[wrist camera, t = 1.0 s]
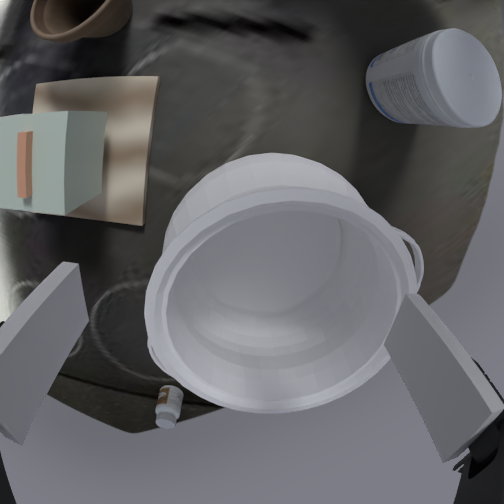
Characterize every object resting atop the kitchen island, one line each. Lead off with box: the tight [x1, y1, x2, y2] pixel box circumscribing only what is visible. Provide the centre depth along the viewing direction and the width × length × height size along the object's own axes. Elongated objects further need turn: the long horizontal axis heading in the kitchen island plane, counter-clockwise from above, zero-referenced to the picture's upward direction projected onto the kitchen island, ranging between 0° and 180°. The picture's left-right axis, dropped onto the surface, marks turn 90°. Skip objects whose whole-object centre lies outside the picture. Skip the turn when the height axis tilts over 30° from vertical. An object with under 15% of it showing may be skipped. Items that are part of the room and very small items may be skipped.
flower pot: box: [30, 0, 133, 43], centre depth 19 cm, size 12×11×10 cm
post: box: [31, 76, 161, 226], centre depth 26 cm, size 18×18×11 cm
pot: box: [144, 153, 424, 413], centre depth 30 cm, size 26×24×17 cm
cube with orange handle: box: [0, 111, 107, 215], centre depth 23 cm, size 9×9×9 cm
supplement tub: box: [366, 28, 502, 128], centre depth 22 cm, size 10×10×15 cm
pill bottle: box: [155, 385, 183, 429], centre depth 45 cm, size 4×4×8 cm
